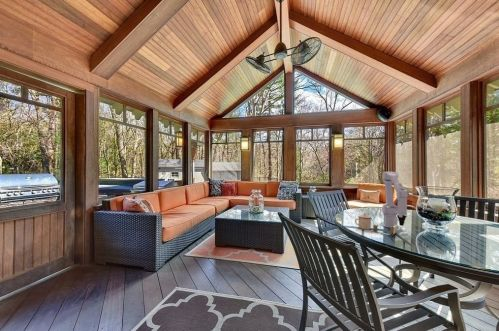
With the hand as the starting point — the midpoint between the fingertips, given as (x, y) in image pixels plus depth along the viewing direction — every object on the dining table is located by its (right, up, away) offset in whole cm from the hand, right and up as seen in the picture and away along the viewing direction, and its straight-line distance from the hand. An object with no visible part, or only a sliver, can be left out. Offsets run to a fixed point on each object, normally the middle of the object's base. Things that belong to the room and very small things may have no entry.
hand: (401, 225), depth 171 cm
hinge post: (-9, -6, -4) cm, 12 cm away
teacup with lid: (-21, -6, +15) cm, 26 cm away
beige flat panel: (-4, -6, +2) cm, 7 cm away
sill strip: (-12, -6, +3) cm, 14 cm away
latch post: (-16, -6, +6) cm, 18 cm away
